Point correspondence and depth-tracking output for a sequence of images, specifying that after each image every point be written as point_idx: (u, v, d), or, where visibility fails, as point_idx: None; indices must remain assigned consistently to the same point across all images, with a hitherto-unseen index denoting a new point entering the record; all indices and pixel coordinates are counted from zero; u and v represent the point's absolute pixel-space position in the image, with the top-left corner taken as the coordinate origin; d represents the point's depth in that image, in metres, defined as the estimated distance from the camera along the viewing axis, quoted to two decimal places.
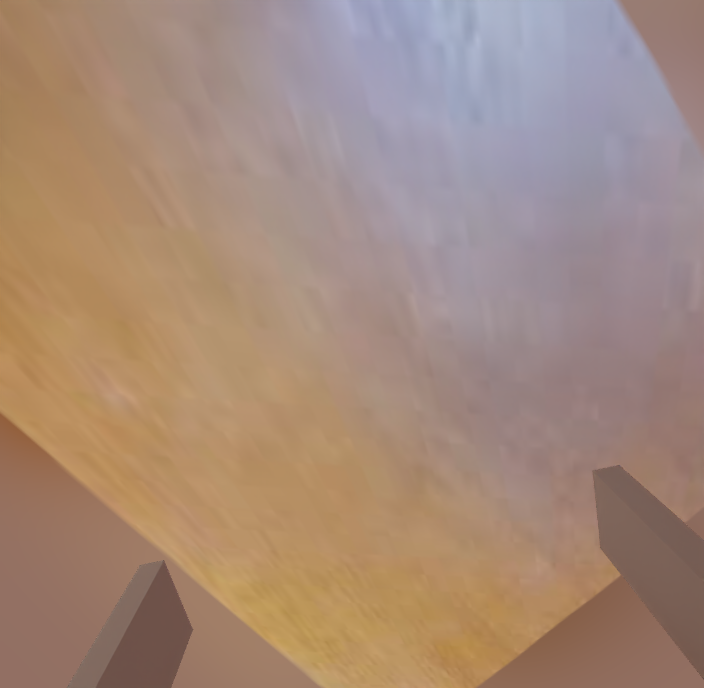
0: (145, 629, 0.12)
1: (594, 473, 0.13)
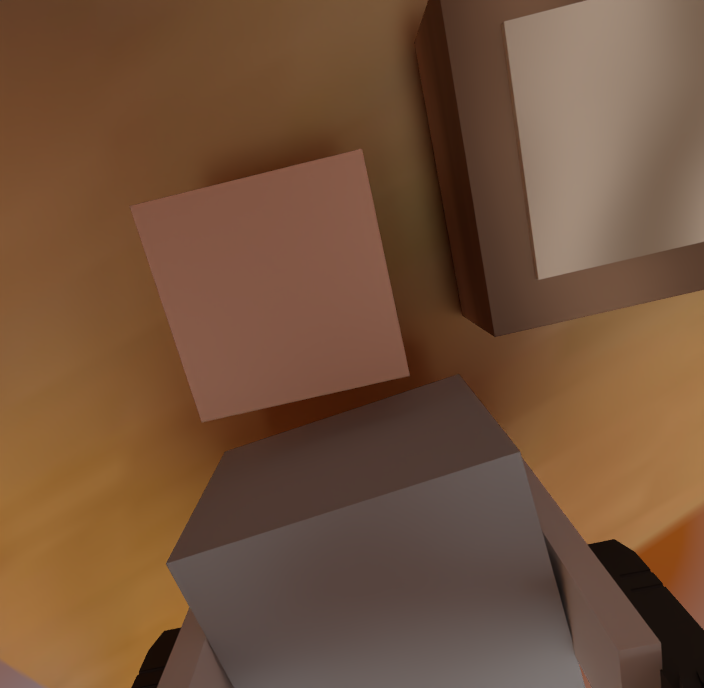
0: None
1: None
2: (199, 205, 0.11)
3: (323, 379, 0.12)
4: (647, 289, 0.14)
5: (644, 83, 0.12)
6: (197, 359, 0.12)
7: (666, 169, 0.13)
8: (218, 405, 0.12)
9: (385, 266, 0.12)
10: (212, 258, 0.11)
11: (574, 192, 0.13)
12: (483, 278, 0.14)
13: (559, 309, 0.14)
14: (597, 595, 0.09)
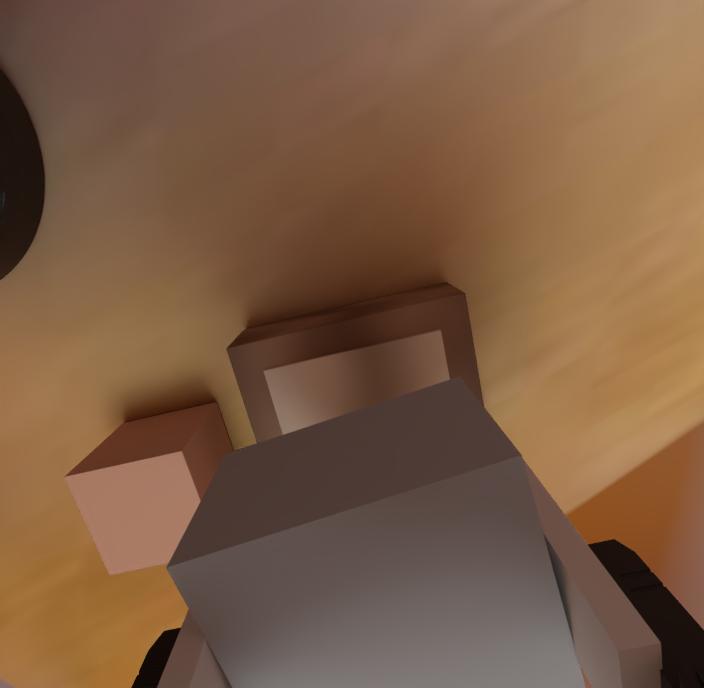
0: None
1: None
2: (100, 476, 0.22)
3: None
4: None
5: (343, 398, 0.22)
6: (105, 545, 0.23)
7: None
8: (118, 567, 0.23)
9: None
10: (109, 499, 0.22)
11: None
12: None
13: None
14: (597, 595, 0.09)
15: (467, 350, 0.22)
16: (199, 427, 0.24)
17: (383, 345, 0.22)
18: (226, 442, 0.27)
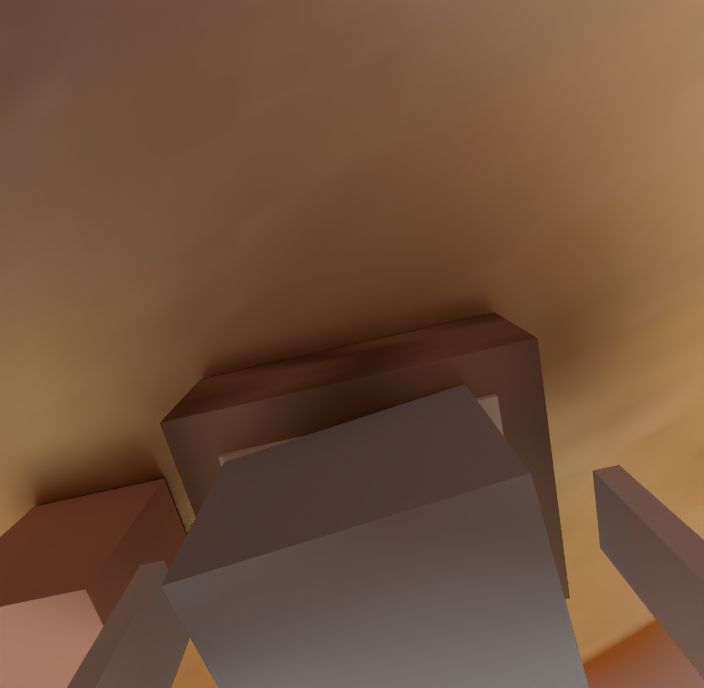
0: (145, 629, 0.12)
1: (594, 473, 0.13)
2: None
3: None
4: None
5: None
6: None
7: None
8: None
9: None
10: None
11: None
12: None
13: None
14: None
15: (537, 425, 0.14)
16: (127, 531, 0.16)
17: None
18: (177, 534, 0.19)
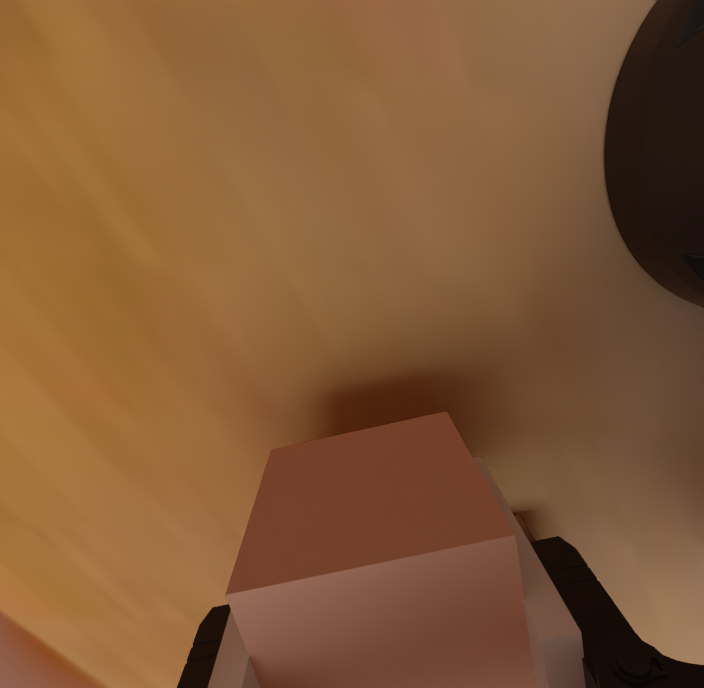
0: None
1: None
2: (507, 606, 0.09)
3: None
4: None
5: None
6: (315, 594, 0.09)
7: None
8: (251, 613, 0.09)
9: None
10: (444, 615, 0.09)
11: None
12: None
13: None
14: (530, 588, 0.09)
15: None
16: None
17: None
18: None
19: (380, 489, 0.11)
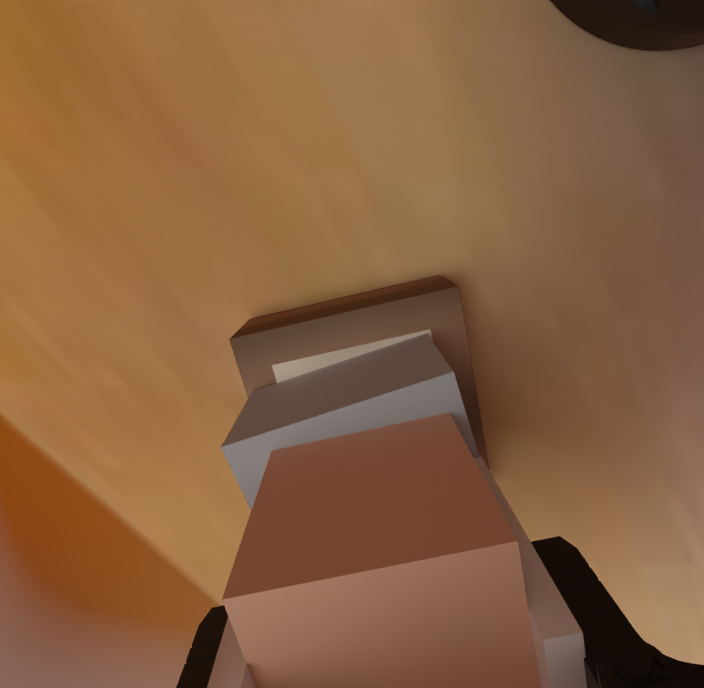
0: None
1: None
2: (509, 613, 0.09)
3: None
4: None
5: None
6: (313, 600, 0.09)
7: None
8: (248, 618, 0.09)
9: None
10: (445, 623, 0.09)
11: None
12: (272, 328, 0.19)
13: (252, 381, 0.20)
14: (532, 589, 0.09)
15: None
16: None
17: None
18: None
19: (381, 492, 0.11)
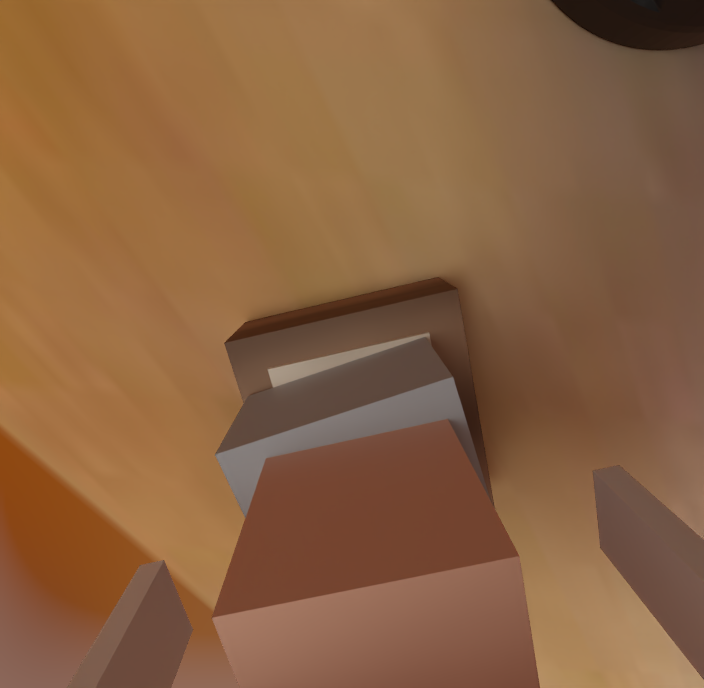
0: (145, 629, 0.12)
1: (594, 473, 0.13)
2: (511, 630, 0.09)
3: None
4: None
5: None
6: (306, 617, 0.09)
7: None
8: (239, 637, 0.09)
9: None
10: (444, 640, 0.09)
11: None
12: (267, 331, 0.19)
13: (247, 386, 0.19)
14: None
15: None
16: None
17: None
18: None
19: (377, 503, 0.11)
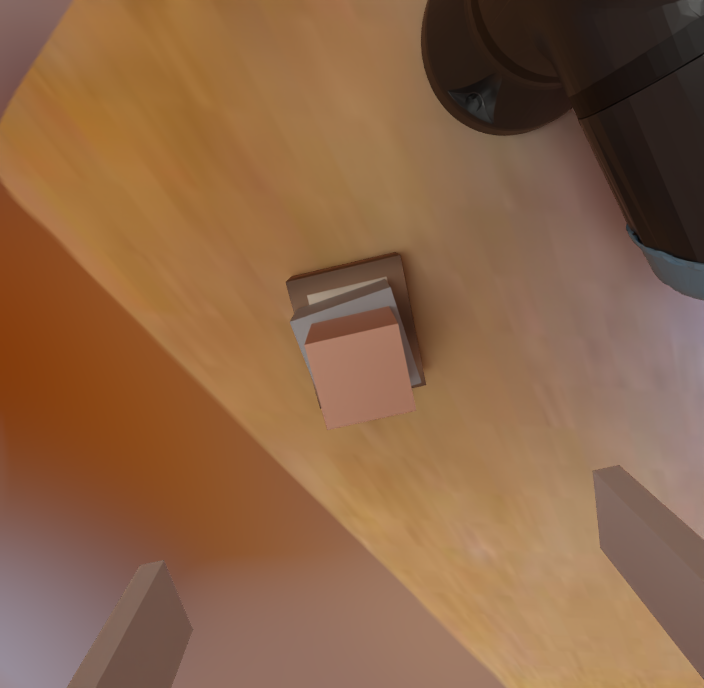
0: (145, 629, 0.12)
1: (594, 473, 0.13)
2: (397, 350, 0.28)
3: (325, 396, 0.29)
4: None
5: None
6: (333, 345, 0.28)
7: None
8: (312, 352, 0.28)
9: (372, 419, 0.29)
10: (376, 354, 0.28)
11: None
12: (307, 276, 0.38)
13: (296, 304, 0.38)
14: None
15: None
16: None
17: None
18: None
19: (357, 323, 0.30)
